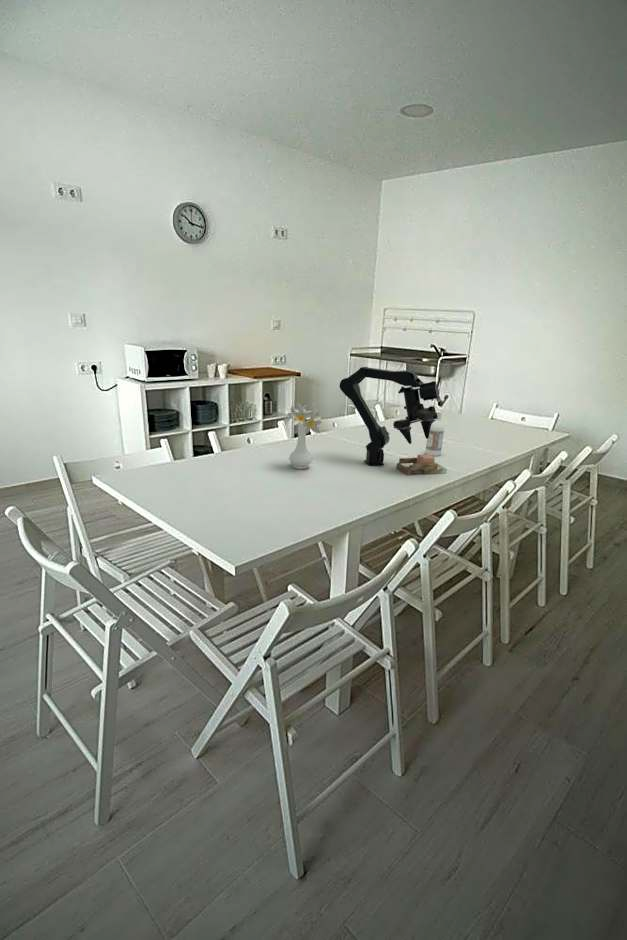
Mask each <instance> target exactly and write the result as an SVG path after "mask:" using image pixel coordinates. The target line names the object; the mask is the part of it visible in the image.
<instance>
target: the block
mask: <svg viewBox="0 0 627 940" xmlns="http://www.w3.org/2000/svg"><path fill="white" fill-rule="evenodd" d="M416 458H417V464H434V462H435V459H436V458H435V456H431V455H429V454H426V453H425V454H417V457H416Z"/></svg>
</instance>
